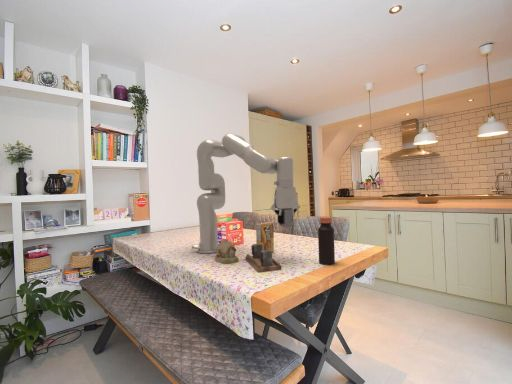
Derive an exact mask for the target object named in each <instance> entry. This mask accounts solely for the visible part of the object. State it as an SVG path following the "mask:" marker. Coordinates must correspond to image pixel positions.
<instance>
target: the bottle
mask: <svg viewBox="0 0 512 384" xmlns="http://www.w3.org/2000/svg"><path fill="white" fill-rule="evenodd" d="M319 224H320V226H319V227H318V229H317V239H318V245H317V246H318V262H319V264H321V265H325V266H326V265H327V266H331V265H334V264H335V263H336V262H335V261H336V260H335V259H336V257H335V256H336V255H335V254H336V253H335V229H334V228H333V226H332V217H331V216H320V217H319Z"/></svg>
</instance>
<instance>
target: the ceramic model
mask: <svg viewBox="0 0 512 384" xmlns="http://www.w3.org/2000/svg"><path fill="white" fill-rule="evenodd" d="M216 251H217V252H216V254H215V255H214V261H215V262H216V263H220V264H224V265H228V264H230V265H231V264H233V263H237V262H239V256H236V252H237V248H236V246H235V245H233V243H232V242H231V241H230V240H229V239H228V238H225V239H222V240H221V242H220V243H218V246H217V248H216Z"/></svg>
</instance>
